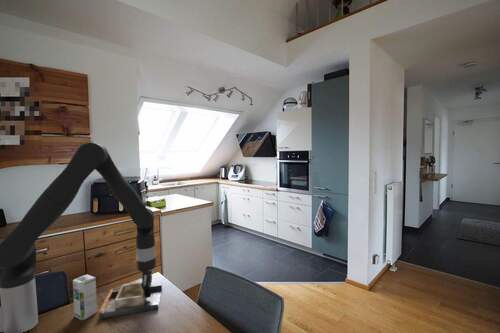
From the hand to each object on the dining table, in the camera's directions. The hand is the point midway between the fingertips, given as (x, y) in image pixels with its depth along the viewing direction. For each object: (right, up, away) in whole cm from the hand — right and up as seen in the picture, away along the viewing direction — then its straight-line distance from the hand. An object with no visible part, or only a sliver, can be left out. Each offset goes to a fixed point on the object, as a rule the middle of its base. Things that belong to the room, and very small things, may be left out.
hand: (147, 296), depth 105 cm
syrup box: (-21, -3, -8) cm, 22 cm away
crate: (-6, -2, -1) cm, 6 cm away
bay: (-6, -2, -1) cm, 6 cm away
